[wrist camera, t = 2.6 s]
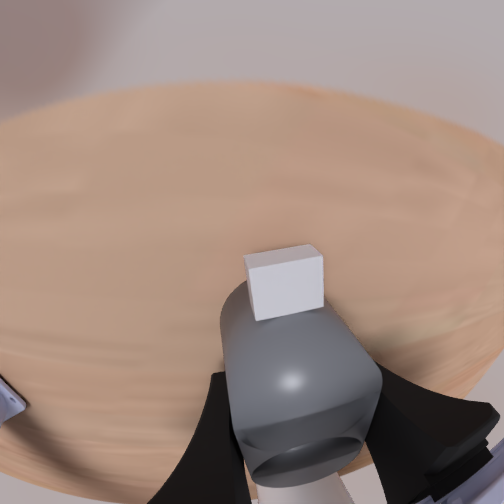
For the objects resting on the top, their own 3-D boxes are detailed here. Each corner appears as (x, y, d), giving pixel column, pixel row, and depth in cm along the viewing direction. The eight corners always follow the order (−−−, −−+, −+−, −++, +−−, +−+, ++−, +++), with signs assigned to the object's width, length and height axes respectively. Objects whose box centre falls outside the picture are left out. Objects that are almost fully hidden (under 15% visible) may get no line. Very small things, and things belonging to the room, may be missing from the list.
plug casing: (202, 241, 10) (200, 321, 5) (321, 222, 10) (403, 277, 6) (242, 416, 13) (258, 494, 9) (320, 398, 14) (352, 468, 9)
